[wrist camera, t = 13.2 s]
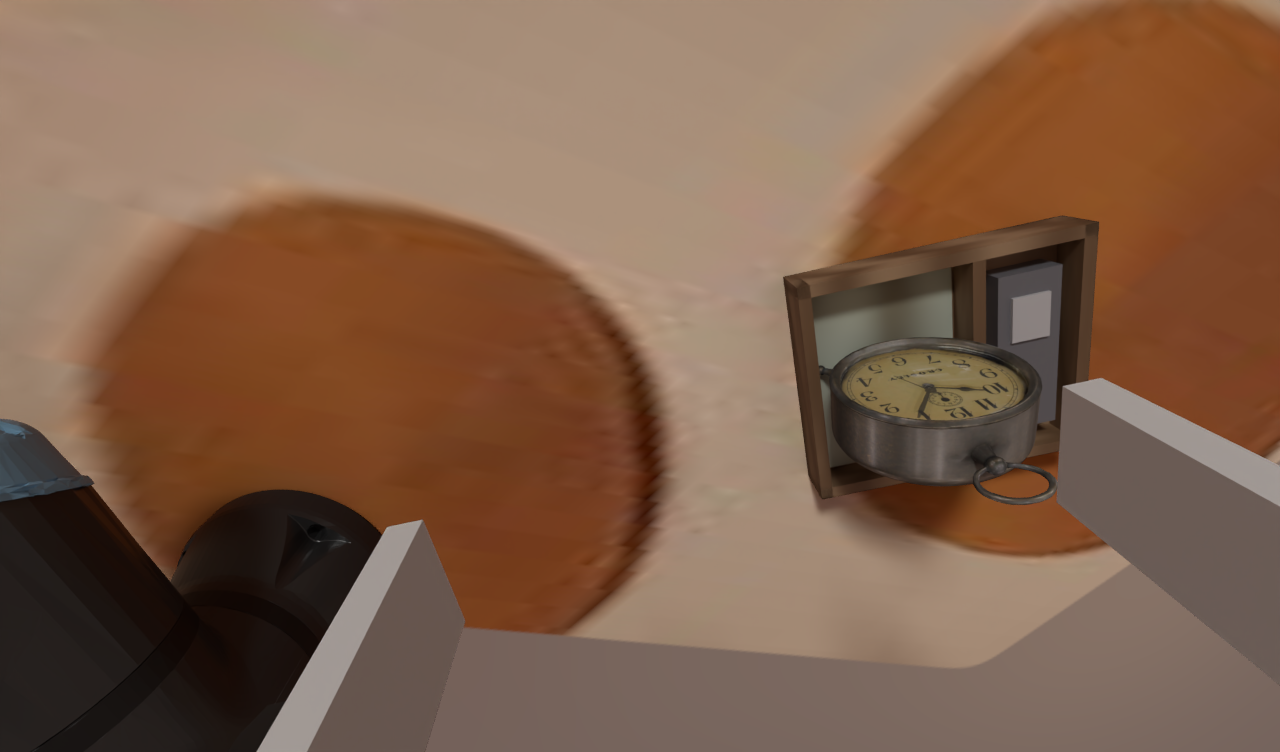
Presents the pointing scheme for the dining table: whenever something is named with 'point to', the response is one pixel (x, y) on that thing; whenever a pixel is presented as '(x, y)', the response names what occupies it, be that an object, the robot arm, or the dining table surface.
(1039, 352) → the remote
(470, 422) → the dining table surface
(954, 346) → the alarm clock
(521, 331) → the dining table surface
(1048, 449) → the organizer tray
